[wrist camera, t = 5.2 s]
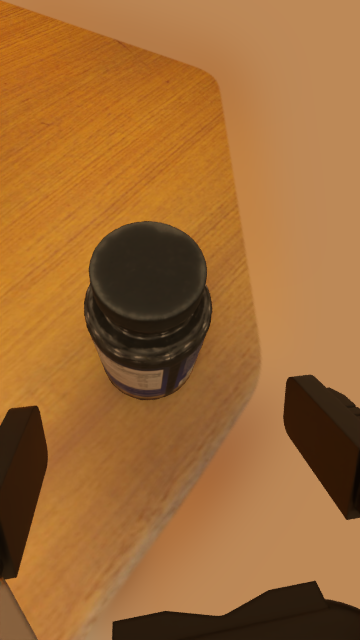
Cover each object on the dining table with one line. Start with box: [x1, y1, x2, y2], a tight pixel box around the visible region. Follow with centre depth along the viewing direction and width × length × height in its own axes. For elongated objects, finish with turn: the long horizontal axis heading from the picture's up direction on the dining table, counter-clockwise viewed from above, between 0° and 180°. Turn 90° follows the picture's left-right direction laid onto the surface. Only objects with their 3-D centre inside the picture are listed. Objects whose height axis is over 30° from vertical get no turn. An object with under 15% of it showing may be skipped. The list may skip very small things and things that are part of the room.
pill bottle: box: [84, 221, 212, 400], centre depth 19 cm, size 6×6×11 cm
